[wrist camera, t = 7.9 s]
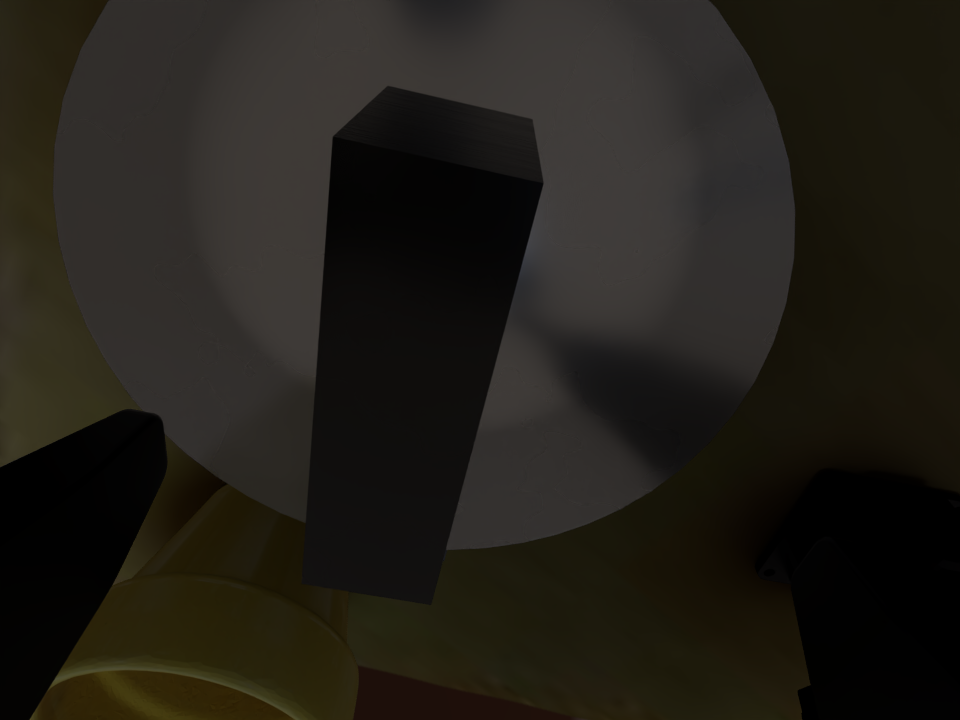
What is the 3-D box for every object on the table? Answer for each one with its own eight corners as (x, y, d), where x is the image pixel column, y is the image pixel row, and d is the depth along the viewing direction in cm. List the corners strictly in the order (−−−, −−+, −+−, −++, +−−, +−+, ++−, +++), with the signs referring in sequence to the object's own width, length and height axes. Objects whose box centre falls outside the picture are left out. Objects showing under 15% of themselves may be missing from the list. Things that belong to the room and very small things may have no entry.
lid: (630, 551, 17) (668, 728, 13) (132, 464, 16) (6, 628, 12) (925, -9, 10) (1224, 4, 6) (25, -244, 9) (-406, -438, 5)
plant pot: (154, 417, 24) (-26, 643, 16) (405, 465, 25) (356, 703, 17) (170, 575, 30) (42, 804, 22) (375, 610, 31) (327, 841, 23)
